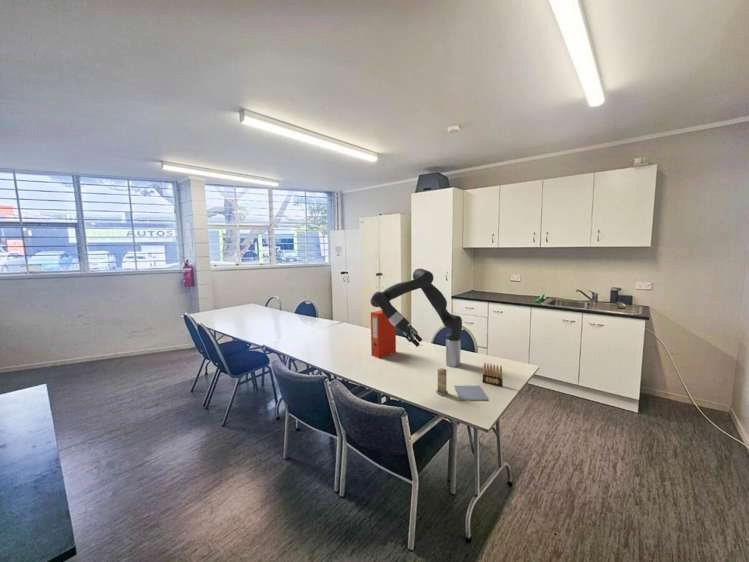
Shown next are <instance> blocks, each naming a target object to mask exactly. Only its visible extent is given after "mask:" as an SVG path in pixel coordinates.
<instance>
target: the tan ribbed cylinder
mask: <svg viewBox="0 0 749 562" xmlns="http://www.w3.org/2000/svg"><path fill="white" fill-rule="evenodd" d="M435 393H437V394H438V396H439V395H441V397H446V396H448V395H447V394H448V393H449V392H448V391H447V369H446V368H443V367H442V368H441V367H440V368H438V369H437V389H436V391H435ZM437 394H436V395H437ZM445 395H446V396H445Z"/></svg>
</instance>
